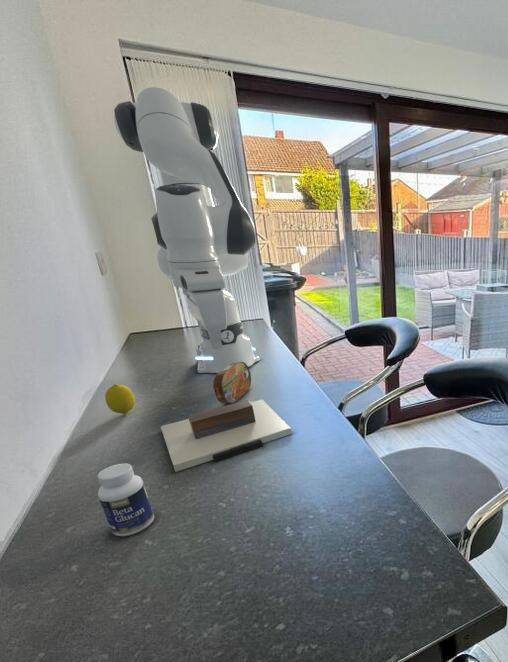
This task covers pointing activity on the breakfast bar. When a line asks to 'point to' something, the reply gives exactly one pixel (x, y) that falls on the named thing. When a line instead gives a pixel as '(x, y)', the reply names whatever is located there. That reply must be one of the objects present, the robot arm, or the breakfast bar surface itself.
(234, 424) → the eraser
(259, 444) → the stroke
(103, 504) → the pill bottle
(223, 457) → the stroke
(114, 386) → the lemon
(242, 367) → the tin
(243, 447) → the stroke
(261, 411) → the memo board
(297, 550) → the breakfast bar surface
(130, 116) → the robot arm
